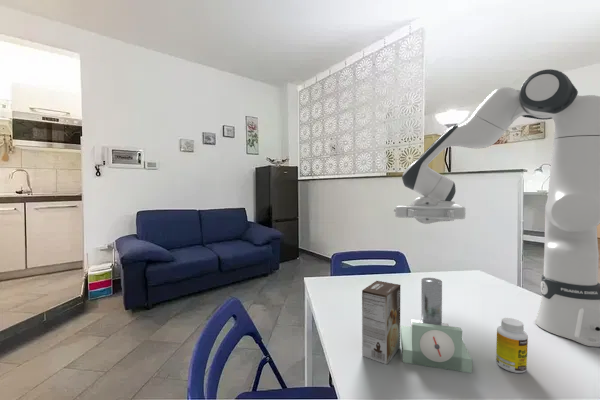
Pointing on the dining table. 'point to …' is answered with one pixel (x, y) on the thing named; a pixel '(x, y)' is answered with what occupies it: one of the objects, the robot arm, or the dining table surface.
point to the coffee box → (381, 321)
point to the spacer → (431, 301)
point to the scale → (435, 347)
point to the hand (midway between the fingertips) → (431, 214)
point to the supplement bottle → (512, 346)
